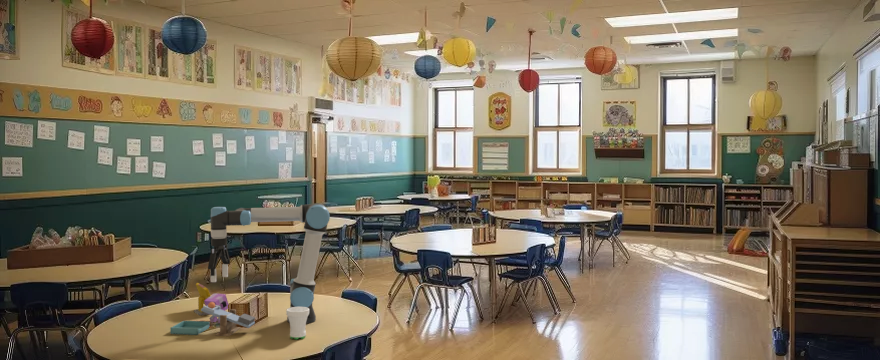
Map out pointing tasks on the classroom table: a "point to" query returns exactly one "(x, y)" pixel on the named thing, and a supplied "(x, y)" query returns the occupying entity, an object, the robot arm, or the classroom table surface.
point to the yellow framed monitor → (202, 298)
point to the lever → (231, 316)
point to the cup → (297, 321)
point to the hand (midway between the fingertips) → (219, 279)
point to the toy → (219, 301)
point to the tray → (190, 327)
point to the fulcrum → (227, 325)
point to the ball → (211, 305)
